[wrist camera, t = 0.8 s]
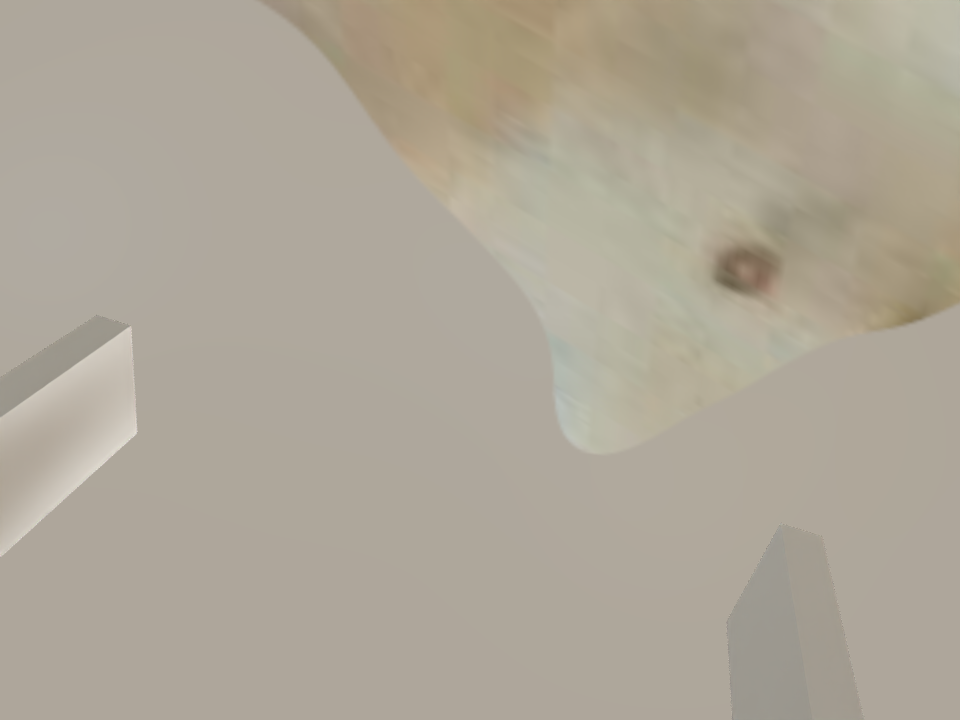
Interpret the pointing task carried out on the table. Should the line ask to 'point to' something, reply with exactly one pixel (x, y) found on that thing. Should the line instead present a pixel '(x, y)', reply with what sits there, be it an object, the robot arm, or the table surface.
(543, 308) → the table surface
